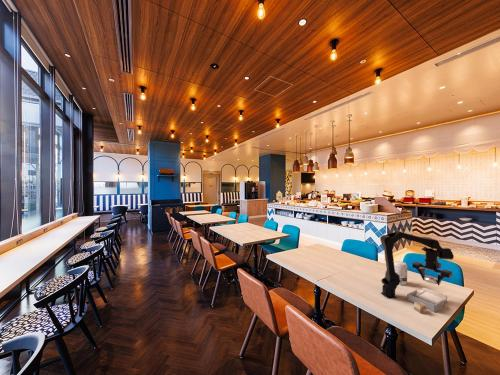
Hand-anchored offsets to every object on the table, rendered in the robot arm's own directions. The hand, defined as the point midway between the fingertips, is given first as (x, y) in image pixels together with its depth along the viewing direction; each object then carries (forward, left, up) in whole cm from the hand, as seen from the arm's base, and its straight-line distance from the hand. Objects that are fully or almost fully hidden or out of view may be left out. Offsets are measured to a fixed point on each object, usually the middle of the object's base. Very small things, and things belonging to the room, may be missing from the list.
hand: (431, 282), depth 130 cm
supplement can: (-1, +23, -11) cm, 26 cm away
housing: (-7, -3, -11) cm, 14 cm away
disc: (0, 0, +1) cm, 1 cm away
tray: (0, 0, -11) cm, 11 cm away
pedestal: (-17, -10, -11) cm, 23 cm away
